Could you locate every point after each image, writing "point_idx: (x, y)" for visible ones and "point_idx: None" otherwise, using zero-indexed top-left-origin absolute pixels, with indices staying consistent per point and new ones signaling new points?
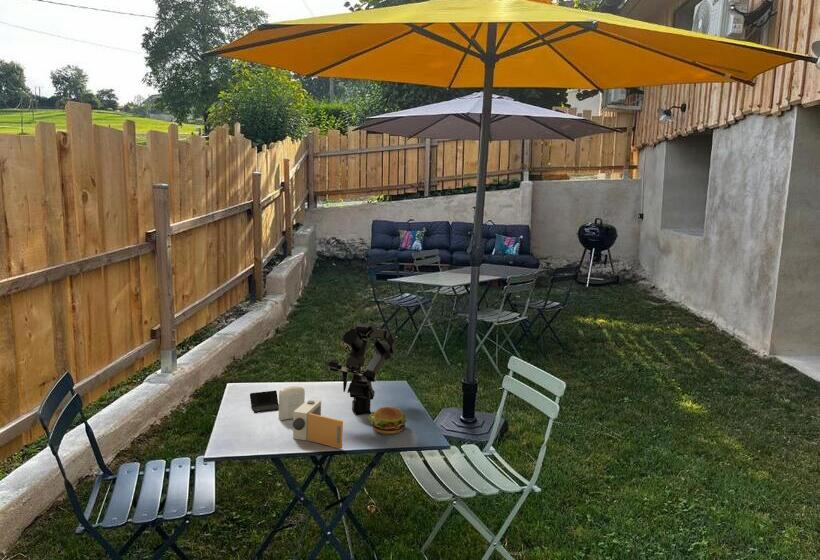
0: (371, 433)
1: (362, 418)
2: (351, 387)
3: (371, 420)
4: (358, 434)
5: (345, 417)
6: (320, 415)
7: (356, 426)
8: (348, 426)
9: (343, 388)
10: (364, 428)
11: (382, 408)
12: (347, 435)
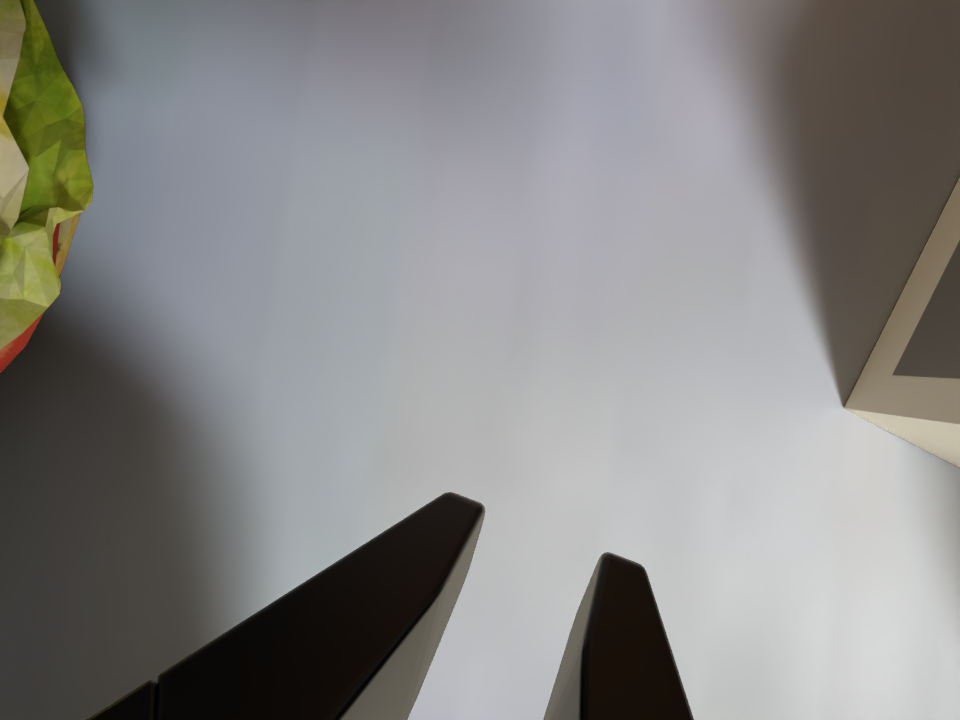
0: (141, 22)
1: (180, 628)
2: (281, 625)
3: (50, 60)
4: (339, 14)
5: (437, 699)
6: (952, 405)
7: (323, 319)
8: (442, 335)
9: (664, 638)
10: (214, 225)
11: None
12: (503, 2)
